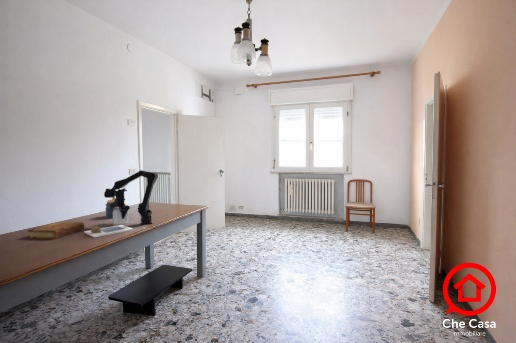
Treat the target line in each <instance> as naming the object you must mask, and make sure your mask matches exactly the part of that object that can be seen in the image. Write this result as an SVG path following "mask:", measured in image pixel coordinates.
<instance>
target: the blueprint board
mask: <svg viewBox="0 0 516 343" xmlns="http://www.w3.org/2000/svg"><path fill="white" fill-rule="evenodd" d="M130 231H134V228H133V227H129V226H127V225H124V224H119V225H113V226H107V227H99V226H92V227H90V230H86V231H85V230H84V232H83V233H84V234H85V235H87V236H89V237H92V238H99V237H103V236H109V235H113V234H114V235H115V234H120V233H124V232H130Z"/></svg>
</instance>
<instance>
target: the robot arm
mask: <svg viewBox="0 0 516 343" xmlns="http://www.w3.org/2000/svg"><path fill="white" fill-rule="evenodd" d="M140 177H141V178H146V183H147V184H146V187H145V191H144V195H143V199H142V202H141V203H138V207H137V212H138V214H139V215H140V224H141V225H144V226H146V225H151V224H153V222H152V214H153V211H152V210H151V209H150V199H151V197H152V192H153V189H154V185H155V183H156V182H157V179H158V177H159V175H158V173H157V172H151V171H145V170H138V171H137V172H135V173H134V174H132V175H129V176H128V177H126V178H123V179H120V180H117V181H115V182H114V184H113V186H112V188H105V191H104V193H103V197H104V198H105V199H106V198H108V199H109V198H111V199H112V198H114V197H115V198H116V199H115V200H114V202H111V203H109V204H107V203H106V204H107V205H108V208H110V209H117V208H119V211H120V212H121V216H122V219H124V217H125V215H126V213H127V211H128V212H129V210H130V209H131V207H130V205H128V204H126V203H125V201H126V198H125V192H128V190H127V189H126V188H125V187H126V186H128V185H129V184H130V183H131V182H134V181H135V180H138V179H139V178H140Z"/></svg>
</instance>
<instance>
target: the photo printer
mask: <svg viewBox="0 0 516 343" xmlns="http://www.w3.org/2000/svg"><path fill="white" fill-rule="evenodd" d="M124 224H129V210H128V211H127V213H126V215H125V217H124V219H122V216H121V212H120V211H119V208H117V209H114V210H113V218H112V225H113V226H117V225H124Z"/></svg>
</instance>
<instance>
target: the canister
mask: <svg viewBox="0 0 516 343" xmlns="http://www.w3.org/2000/svg"><path fill="white" fill-rule="evenodd" d="M115 199H116V196H115V197H114V198H111V199H108V200H107V201H106V203H105V208H104V209H105V218H106V219H113V210H114V209H110V208H108V205H107V204H109V203H111V202H114V200H115Z"/></svg>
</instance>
